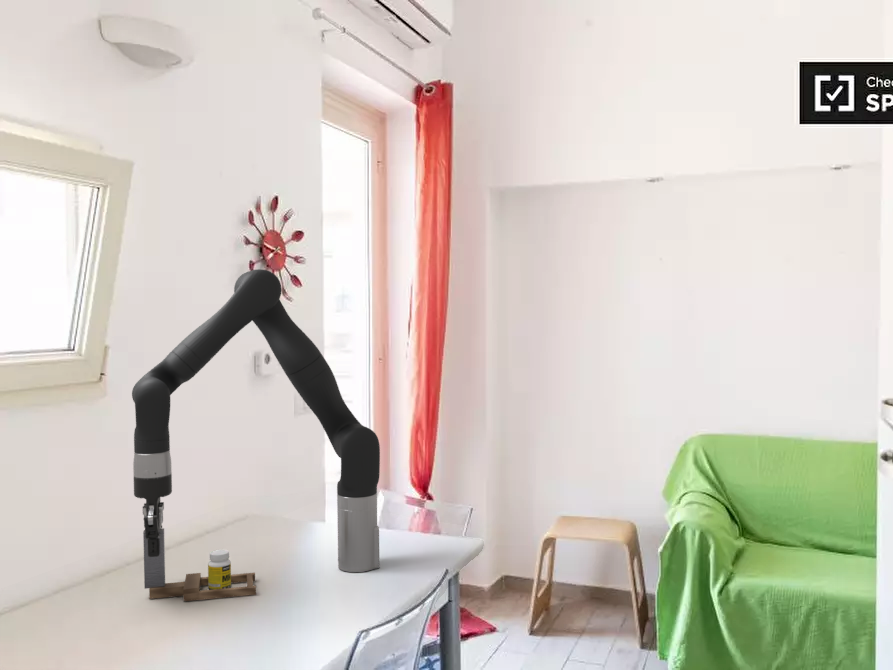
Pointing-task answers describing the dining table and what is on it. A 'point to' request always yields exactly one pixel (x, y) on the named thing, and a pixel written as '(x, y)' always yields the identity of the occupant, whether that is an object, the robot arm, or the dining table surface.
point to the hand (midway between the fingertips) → (154, 554)
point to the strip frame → (187, 580)
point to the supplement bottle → (219, 570)
